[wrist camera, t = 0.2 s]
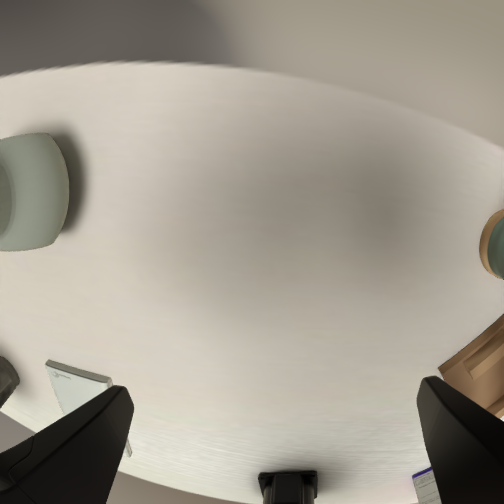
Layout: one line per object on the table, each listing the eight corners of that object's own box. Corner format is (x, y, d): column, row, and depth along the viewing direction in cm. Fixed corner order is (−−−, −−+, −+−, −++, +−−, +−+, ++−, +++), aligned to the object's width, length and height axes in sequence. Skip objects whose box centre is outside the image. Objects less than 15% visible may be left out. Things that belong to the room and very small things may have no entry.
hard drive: (43, 364, 27) (72, 440, 30) (106, 383, 26) (129, 459, 29) (51, 356, 28) (78, 432, 32) (113, 374, 28) (133, 450, 31)
